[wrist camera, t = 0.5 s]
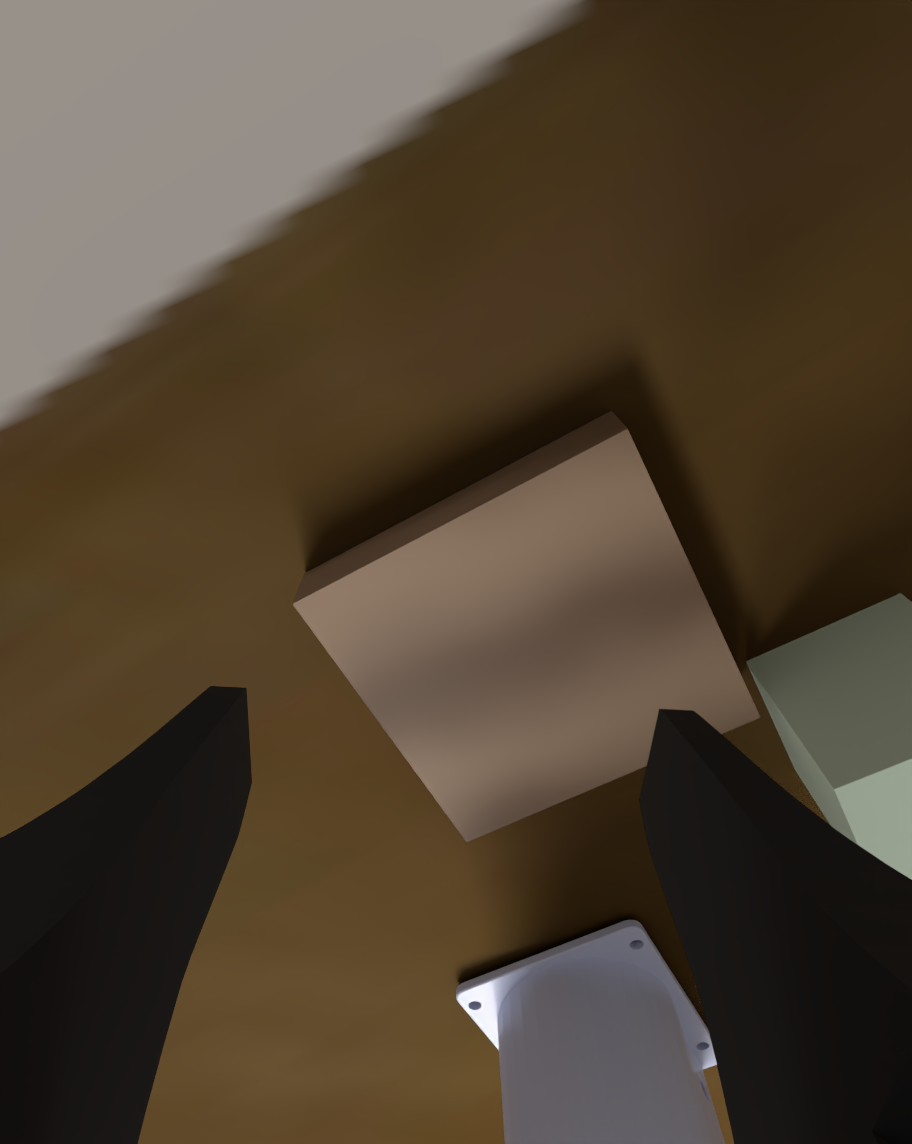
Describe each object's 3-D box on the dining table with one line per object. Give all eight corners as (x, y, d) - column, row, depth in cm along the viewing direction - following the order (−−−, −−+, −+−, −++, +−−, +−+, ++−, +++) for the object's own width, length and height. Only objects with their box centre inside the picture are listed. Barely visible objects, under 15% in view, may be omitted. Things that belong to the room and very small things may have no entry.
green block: (938, 709, 25) (1077, 846, 19) (794, 768, 26) (887, 914, 20) (899, 592, 23) (1041, 707, 17) (745, 660, 24) (833, 789, 18)
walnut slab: (736, 680, 24) (760, 717, 22) (465, 799, 26) (467, 842, 24) (611, 410, 20) (627, 428, 19) (305, 573, 22) (292, 603, 20)
